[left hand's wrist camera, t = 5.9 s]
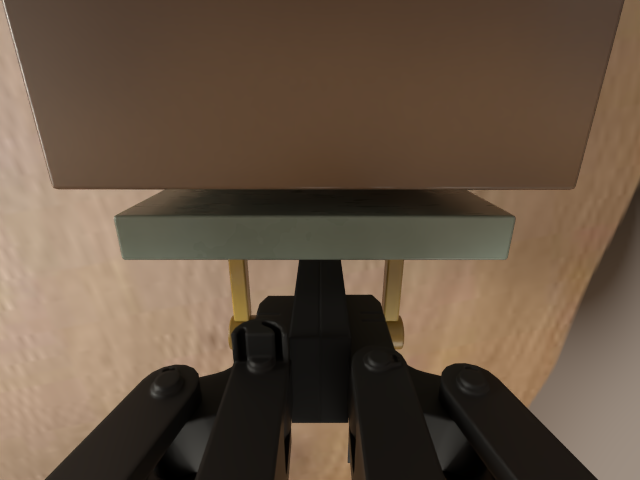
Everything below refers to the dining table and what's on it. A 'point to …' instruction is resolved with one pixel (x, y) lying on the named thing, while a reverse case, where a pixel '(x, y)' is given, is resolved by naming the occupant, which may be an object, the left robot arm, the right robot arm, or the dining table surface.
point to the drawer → (315, 232)
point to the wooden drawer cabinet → (313, 91)
